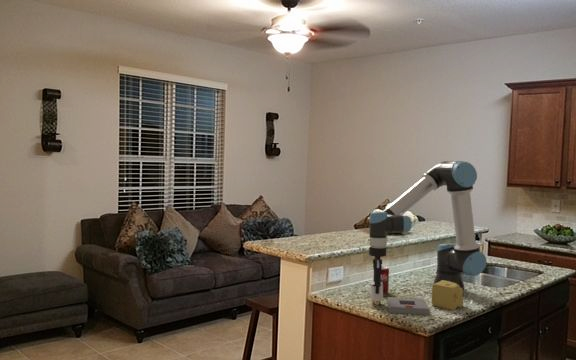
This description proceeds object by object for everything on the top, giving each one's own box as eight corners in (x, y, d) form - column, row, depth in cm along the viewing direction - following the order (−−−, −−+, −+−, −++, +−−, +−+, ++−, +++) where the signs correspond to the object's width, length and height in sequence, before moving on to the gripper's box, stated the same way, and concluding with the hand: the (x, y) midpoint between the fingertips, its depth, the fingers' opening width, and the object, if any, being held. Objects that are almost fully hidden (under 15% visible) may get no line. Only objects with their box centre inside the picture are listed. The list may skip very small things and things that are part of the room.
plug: (382, 302, 229) (382, 277, 228) (382, 305, 224) (383, 280, 223) (370, 302, 229) (371, 277, 229) (371, 305, 224) (371, 279, 224)
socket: (423, 304, 228) (423, 297, 227) (428, 314, 212) (428, 307, 212) (387, 302, 230) (387, 295, 230) (389, 312, 214) (389, 305, 214)
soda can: (388, 294, 243) (389, 269, 243) (372, 293, 245) (373, 268, 245) (388, 291, 251) (389, 266, 250) (373, 290, 252) (374, 265, 252)
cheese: (463, 305, 227) (464, 283, 226) (453, 310, 219) (453, 287, 218) (441, 301, 234) (441, 279, 233) (430, 306, 226) (431, 283, 225)
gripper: (368, 243, 235) (367, 293, 236) (369, 249, 217) (368, 304, 218) (385, 243, 234) (384, 294, 235) (387, 250, 216) (386, 305, 217)
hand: (376, 298), depth 226 cm, fingers closed on plug, 5 cm apart
